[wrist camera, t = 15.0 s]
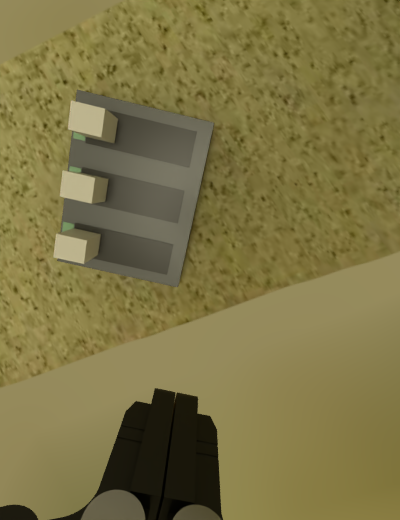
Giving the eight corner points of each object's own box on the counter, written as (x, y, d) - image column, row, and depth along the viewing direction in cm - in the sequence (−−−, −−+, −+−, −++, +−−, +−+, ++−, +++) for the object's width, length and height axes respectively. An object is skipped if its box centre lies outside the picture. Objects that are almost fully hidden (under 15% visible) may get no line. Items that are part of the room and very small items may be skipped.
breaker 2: (100, 234, 33) (87, 240, 29) (97, 255, 33) (83, 263, 30) (73, 228, 33) (56, 233, 29) (71, 249, 33) (53, 257, 29)
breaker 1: (117, 118, 30) (105, 108, 26) (114, 143, 31) (101, 137, 27) (88, 111, 30) (71, 100, 26) (85, 136, 30) (67, 129, 27)
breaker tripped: (108, 179, 31) (95, 177, 28) (105, 201, 32) (91, 203, 28) (80, 172, 31) (62, 170, 27) (77, 195, 32) (59, 196, 28)
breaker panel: (213, 128, 33) (214, 122, 30) (179, 279, 37) (177, 287, 34) (88, 98, 33) (76, 89, 30) (68, 254, 37) (56, 261, 34)
